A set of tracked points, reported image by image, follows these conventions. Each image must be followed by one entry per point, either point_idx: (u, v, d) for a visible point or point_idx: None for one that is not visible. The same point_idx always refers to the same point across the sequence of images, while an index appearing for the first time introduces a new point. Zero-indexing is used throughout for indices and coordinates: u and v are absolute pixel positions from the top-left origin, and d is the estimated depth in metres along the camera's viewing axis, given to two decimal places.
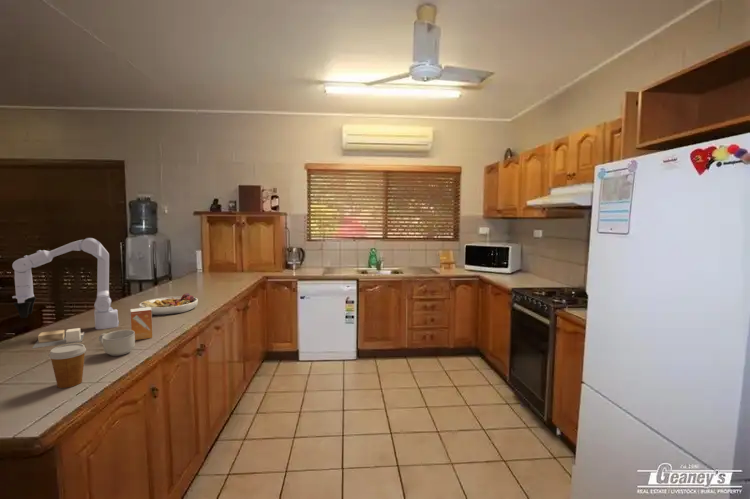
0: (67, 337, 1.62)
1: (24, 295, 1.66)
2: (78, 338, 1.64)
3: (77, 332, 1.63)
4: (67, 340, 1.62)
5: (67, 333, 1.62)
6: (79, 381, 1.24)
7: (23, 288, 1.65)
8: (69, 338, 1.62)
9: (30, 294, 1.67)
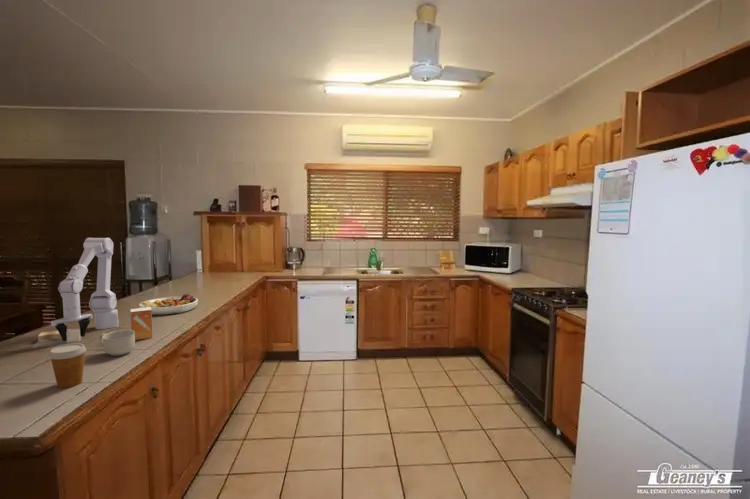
0: (67, 337, 1.62)
1: (65, 318, 1.61)
2: (78, 338, 1.64)
3: (77, 332, 1.63)
4: (67, 340, 1.62)
5: (67, 333, 1.62)
6: (79, 381, 1.24)
7: (64, 310, 1.61)
8: (69, 338, 1.62)
9: (70, 317, 1.61)
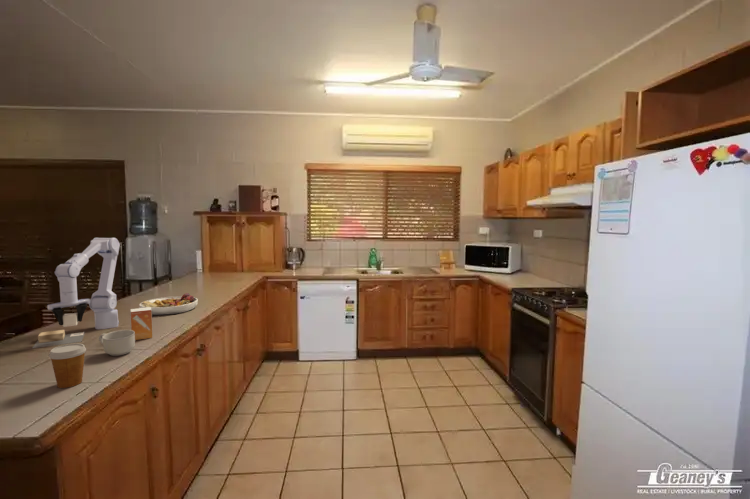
0: (64, 321, 1.61)
1: (61, 302, 1.61)
2: (75, 323, 1.63)
3: (74, 316, 1.63)
4: (64, 324, 1.61)
5: (64, 317, 1.61)
6: (79, 381, 1.24)
7: (61, 294, 1.61)
8: (66, 323, 1.62)
9: (66, 302, 1.61)
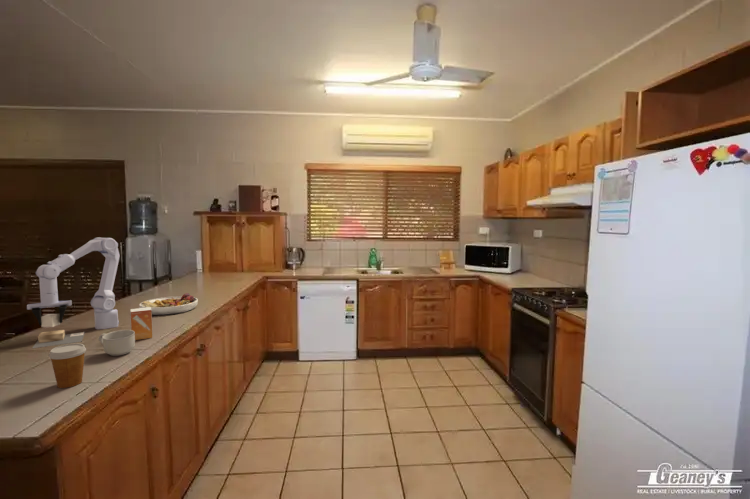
0: (42, 322, 1.62)
1: None
2: (51, 324, 1.63)
3: (50, 318, 1.62)
4: (42, 325, 1.62)
5: (42, 318, 1.62)
6: (79, 381, 1.24)
7: None
8: (44, 323, 1.62)
9: (43, 303, 1.61)
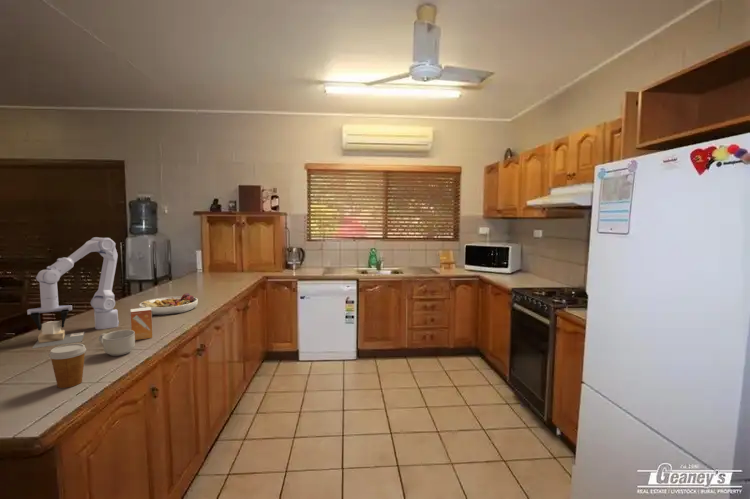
0: (43, 329, 1.63)
1: (41, 307, 1.62)
2: (52, 331, 1.63)
3: (51, 325, 1.63)
4: (43, 332, 1.63)
5: (42, 325, 1.62)
6: (79, 381, 1.24)
7: None
8: (44, 331, 1.63)
9: (43, 307, 1.61)
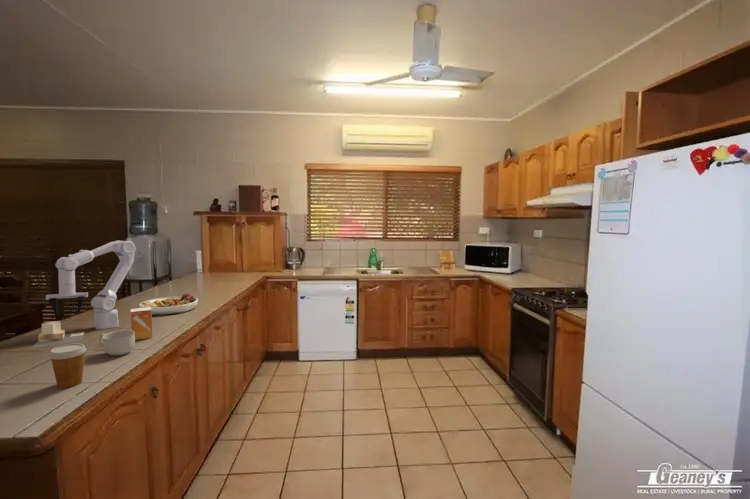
0: (43, 329, 1.63)
1: (59, 293, 1.68)
2: (52, 331, 1.63)
3: (51, 325, 1.63)
4: (43, 332, 1.63)
5: (42, 325, 1.62)
6: (79, 381, 1.24)
7: (59, 286, 1.68)
8: (44, 331, 1.63)
9: (61, 293, 1.67)
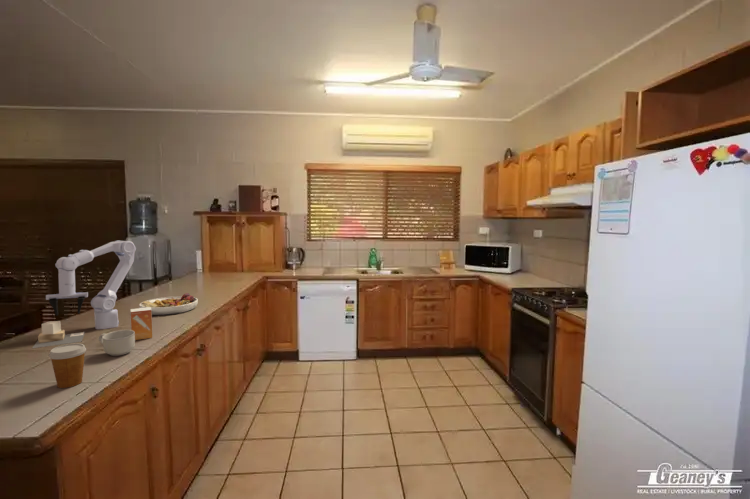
0: (43, 329, 1.63)
1: (59, 293, 1.68)
2: (52, 331, 1.63)
3: (51, 325, 1.63)
4: (43, 332, 1.63)
5: (42, 325, 1.62)
6: (79, 381, 1.24)
7: (59, 286, 1.68)
8: (44, 331, 1.63)
9: (61, 293, 1.67)
